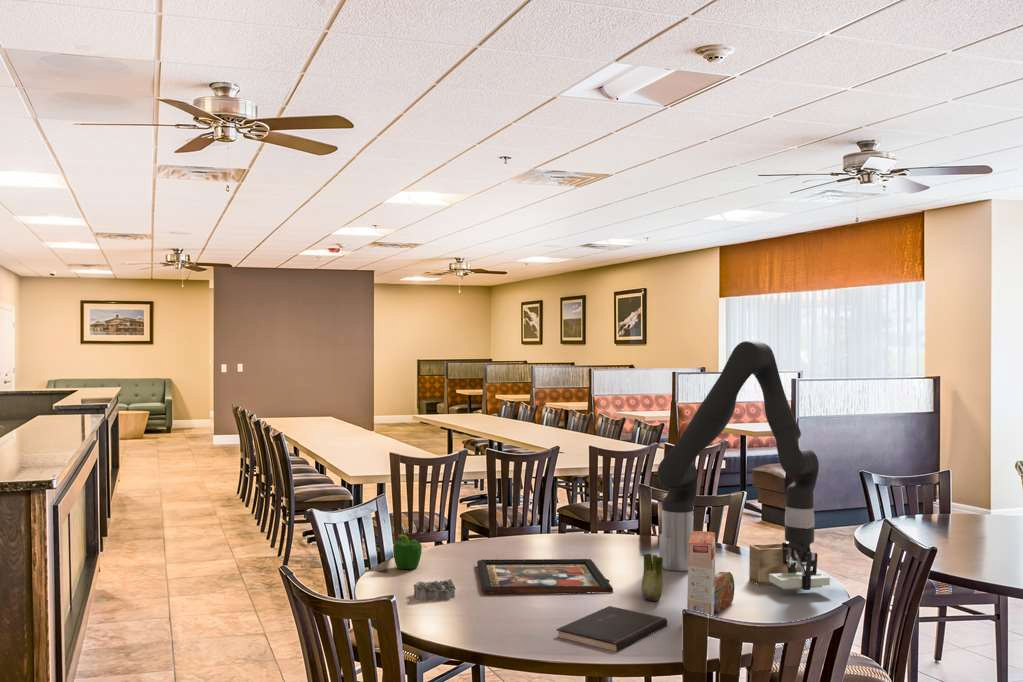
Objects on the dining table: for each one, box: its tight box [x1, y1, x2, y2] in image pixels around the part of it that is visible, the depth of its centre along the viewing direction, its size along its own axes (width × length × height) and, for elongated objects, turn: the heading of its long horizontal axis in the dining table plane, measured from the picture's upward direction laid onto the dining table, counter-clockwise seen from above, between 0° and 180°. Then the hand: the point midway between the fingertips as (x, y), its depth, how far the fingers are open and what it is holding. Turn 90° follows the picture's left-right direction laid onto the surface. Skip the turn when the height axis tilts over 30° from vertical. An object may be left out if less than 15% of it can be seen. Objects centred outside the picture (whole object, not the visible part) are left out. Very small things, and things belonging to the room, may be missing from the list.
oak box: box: [748, 542, 801, 586], centre depth 248 cm, size 13×6×10 cm, turn 102°
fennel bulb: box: [641, 553, 664, 602], centre depth 229 cm, size 6×5×12 cm
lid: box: [769, 571, 831, 590], centre depth 236 cm, size 14×7×3 cm, turn 103°
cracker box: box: [686, 530, 716, 616], centre depth 210 cm, size 14×6×21 cm, turn 164°
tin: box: [714, 571, 735, 613], centre depth 223 cm, size 15×3×8 cm, turn 146°
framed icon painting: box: [476, 558, 614, 596], centre depth 250 cm, size 38×35×3 cm
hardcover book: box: [556, 605, 668, 653], centre depth 204 cm, size 16×23×2 cm
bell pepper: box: [392, 534, 423, 570], centre depth 260 cm, size 8×8×10 cm
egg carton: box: [413, 578, 457, 602], centre depth 231 cm, size 11×8×4 cm
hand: (799, 585), depth 236 cm, fingers closed on lid, 6 cm apart
